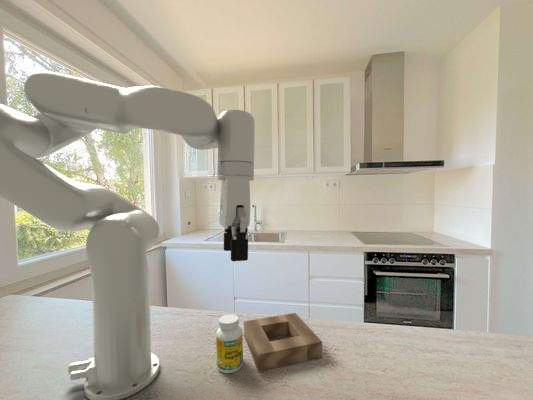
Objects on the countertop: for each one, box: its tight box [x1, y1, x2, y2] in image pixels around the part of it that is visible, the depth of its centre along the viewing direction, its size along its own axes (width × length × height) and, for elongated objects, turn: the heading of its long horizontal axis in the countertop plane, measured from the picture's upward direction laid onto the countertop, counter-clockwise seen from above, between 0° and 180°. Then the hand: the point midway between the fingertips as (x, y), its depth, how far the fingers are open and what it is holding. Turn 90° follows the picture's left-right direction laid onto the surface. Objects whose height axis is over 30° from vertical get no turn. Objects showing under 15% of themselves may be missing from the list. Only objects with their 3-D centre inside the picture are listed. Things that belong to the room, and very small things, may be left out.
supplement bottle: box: [215, 313, 244, 374], centre depth 51 cm, size 5×5×10 cm
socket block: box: [243, 312, 323, 373], centre depth 57 cm, size 14×14×4 cm
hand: (234, 255), depth 52 cm, fingers open, 9 cm apart
